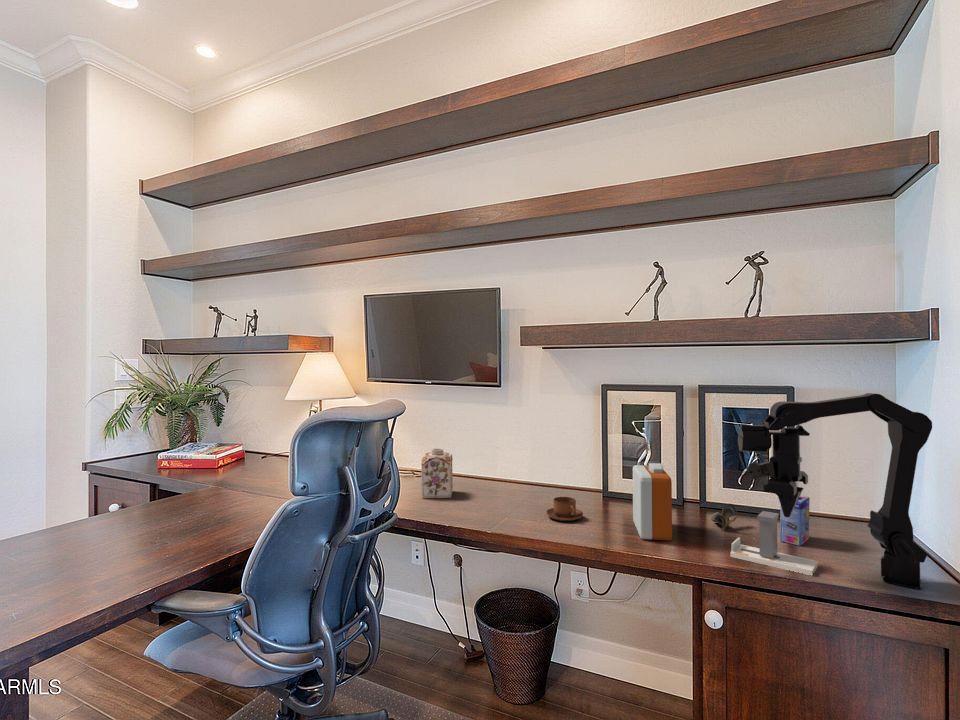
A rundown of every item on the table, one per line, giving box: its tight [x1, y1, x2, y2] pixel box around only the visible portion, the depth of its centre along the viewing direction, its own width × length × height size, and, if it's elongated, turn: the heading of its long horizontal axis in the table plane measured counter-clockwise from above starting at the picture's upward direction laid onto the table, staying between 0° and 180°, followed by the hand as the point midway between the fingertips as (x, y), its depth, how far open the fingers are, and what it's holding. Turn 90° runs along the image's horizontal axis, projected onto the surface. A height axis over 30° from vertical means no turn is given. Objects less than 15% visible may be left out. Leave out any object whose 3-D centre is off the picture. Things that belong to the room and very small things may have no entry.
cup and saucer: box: [546, 496, 584, 522], centre depth 164 cm, size 12×12×6 cm
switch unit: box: [730, 537, 819, 577], centre depth 127 cm, size 18×8×3 cm, turn 47°
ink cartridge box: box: [779, 494, 811, 547], centre depth 142 cm, size 10×6×14 cm, turn 135°
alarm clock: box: [632, 462, 673, 541], centre depth 151 cm, size 18×9×21 cm, turn 170°
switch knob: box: [757, 510, 780, 559], centre depth 127 cm, size 4×6×10 cm, turn 137°
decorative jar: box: [420, 447, 454, 499], centre depth 195 cm, size 12×12×18 cm
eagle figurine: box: [710, 503, 738, 532], centre depth 154 cm, size 8×8×10 cm
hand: (787, 516), depth 121 cm, fingers closed
